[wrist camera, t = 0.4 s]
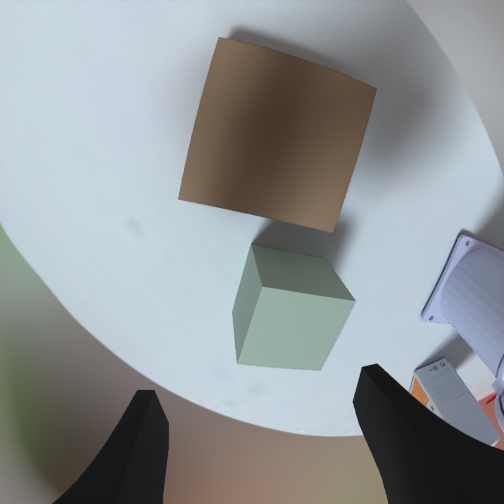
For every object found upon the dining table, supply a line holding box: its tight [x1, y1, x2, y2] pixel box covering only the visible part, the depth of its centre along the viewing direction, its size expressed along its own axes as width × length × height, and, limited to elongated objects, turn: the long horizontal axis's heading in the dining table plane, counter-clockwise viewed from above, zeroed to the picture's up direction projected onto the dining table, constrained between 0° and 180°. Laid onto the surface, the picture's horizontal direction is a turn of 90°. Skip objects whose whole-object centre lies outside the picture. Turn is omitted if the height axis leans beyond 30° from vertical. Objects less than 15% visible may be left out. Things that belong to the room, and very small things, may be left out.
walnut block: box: [178, 37, 377, 233], centre depth 15 cm, size 8×8×3 cm
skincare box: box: [409, 358, 500, 447], centre depth 22 cm, size 6×4×12 cm
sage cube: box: [232, 244, 356, 371], centre depth 18 cm, size 5×5×5 cm
